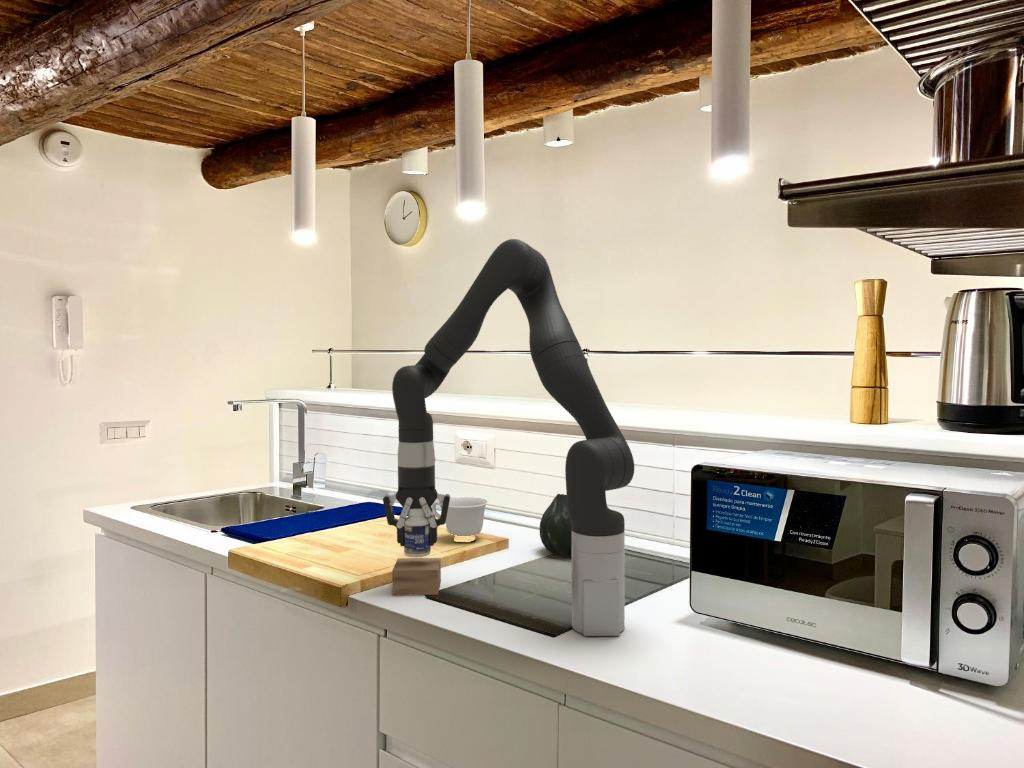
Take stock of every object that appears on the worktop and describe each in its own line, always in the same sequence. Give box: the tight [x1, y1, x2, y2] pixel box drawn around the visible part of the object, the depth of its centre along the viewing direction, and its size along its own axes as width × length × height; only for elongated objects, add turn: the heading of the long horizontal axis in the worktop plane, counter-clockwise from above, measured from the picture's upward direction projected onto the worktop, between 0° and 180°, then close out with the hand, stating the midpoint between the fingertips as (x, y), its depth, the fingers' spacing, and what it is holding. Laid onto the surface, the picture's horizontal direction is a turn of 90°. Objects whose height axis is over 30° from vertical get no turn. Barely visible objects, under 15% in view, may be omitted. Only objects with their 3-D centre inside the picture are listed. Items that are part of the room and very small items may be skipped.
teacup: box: [431, 496, 489, 536], centre depth 200 cm, size 12×15×10 cm
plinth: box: [391, 557, 442, 596], centre depth 161 cm, size 9×9×5 cm
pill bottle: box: [403, 509, 432, 558], centre depth 160 cm, size 5×5×10 cm
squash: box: [539, 493, 572, 558], centre depth 188 cm, size 14×15×15 cm
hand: (417, 544), depth 160 cm, fingers closed on pill bottle, 5 cm apart
